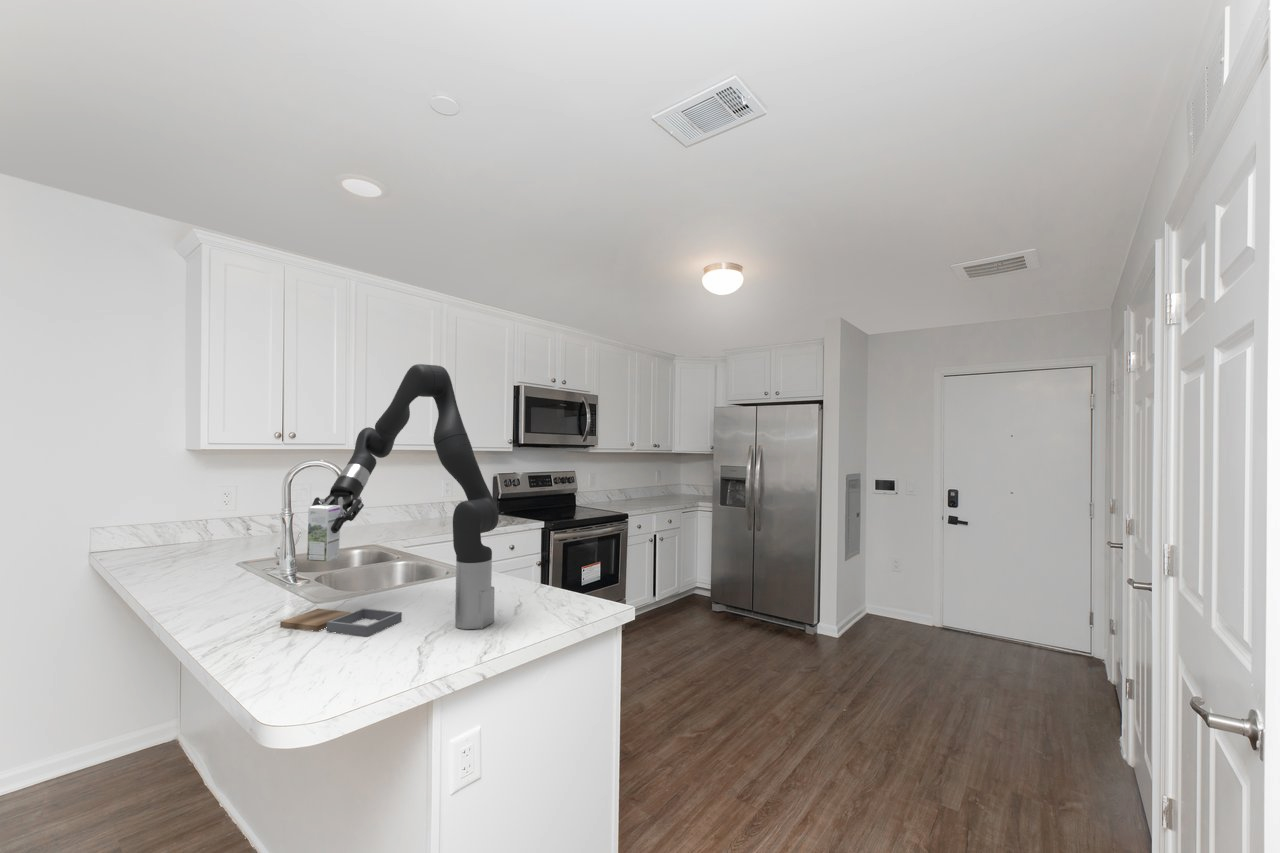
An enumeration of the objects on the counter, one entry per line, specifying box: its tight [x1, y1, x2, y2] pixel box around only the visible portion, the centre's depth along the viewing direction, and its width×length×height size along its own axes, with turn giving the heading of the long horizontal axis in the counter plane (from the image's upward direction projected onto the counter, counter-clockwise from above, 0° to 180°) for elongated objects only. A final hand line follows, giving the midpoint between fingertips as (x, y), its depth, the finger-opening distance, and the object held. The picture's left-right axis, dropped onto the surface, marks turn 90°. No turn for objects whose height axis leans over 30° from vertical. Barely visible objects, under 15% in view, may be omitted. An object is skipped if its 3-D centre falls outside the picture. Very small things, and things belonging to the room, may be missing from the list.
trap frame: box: [325, 607, 403, 638], centre depth 148 cm, size 13×13×2 cm
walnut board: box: [279, 608, 353, 632], centre depth 151 cm, size 12×12×2 cm
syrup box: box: [306, 505, 341, 562], centre depth 152 cm, size 6×6×14 cm
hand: (322, 530), depth 151 cm, fingers closed on syrup box, 5 cm apart
